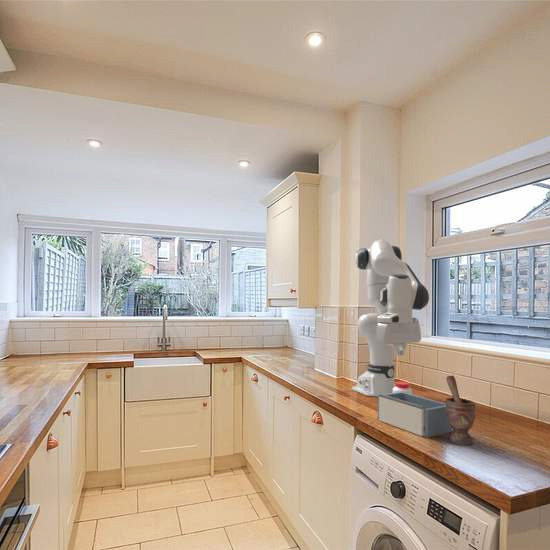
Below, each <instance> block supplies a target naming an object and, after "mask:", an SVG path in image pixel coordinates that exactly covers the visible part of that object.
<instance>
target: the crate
mask: <svg viewBox="0 0 550 550" xmlns="http://www.w3.org/2000/svg"><path fill="white" fill-rule="evenodd" d="M383 395H386V396H390V397H393V398H396V399H400V400H403V401H407V402H410V403H413V404H417V405H420V406H424V414H425V429H424V437H425V438H427V439H428V438H431V437H436V436H441V435H444V434H448V433H449V434H450V433H452V432H453V428H452V427H451V425H450V424H449V423H448V419H447V414H446V402H441V401H437V400H433V399H430V398H427V397H426V398H425V397H423V396H419V395H416V394H415V395H414V394H413V393H412V394H408V393H405V392H397V393H390V394H383ZM377 420H379V395H378V396H377ZM379 421H380V420H379Z"/></svg>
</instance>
